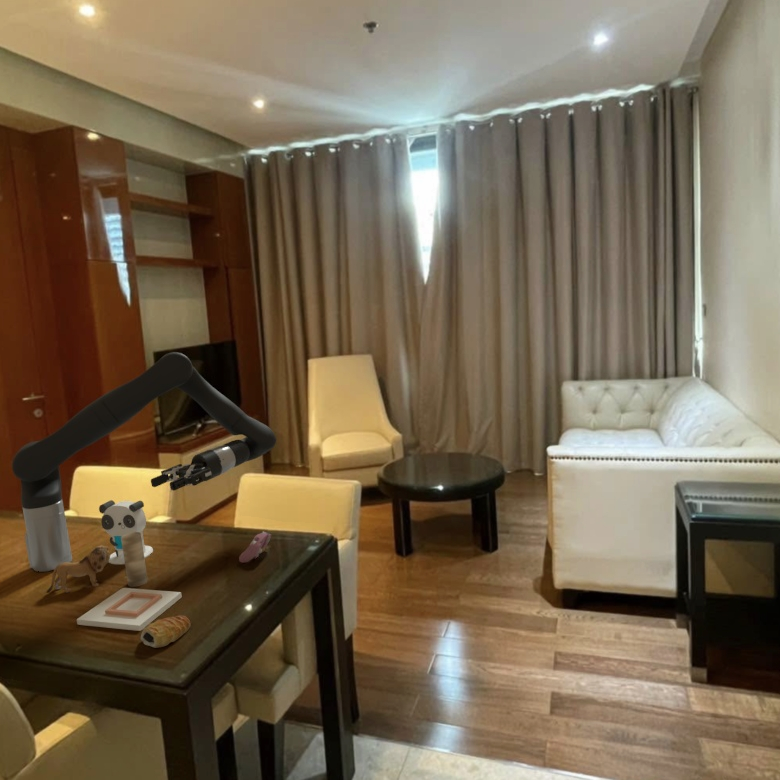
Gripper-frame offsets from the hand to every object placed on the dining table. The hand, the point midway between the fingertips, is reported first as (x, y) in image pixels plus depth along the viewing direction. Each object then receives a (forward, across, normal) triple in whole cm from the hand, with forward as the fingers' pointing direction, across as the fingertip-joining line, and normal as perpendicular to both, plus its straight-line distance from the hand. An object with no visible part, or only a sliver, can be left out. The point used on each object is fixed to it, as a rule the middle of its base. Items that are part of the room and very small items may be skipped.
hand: (161, 485), depth 149 cm
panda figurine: (+4, -19, +21) cm, 28 cm away
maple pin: (+12, -1, +21) cm, 24 cm away
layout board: (+20, +11, +20) cm, 31 cm away
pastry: (+22, +28, +21) cm, 41 cm away
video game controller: (-13, +14, +24) cm, 30 cm away
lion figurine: (+19, -12, +20) cm, 30 cm away
